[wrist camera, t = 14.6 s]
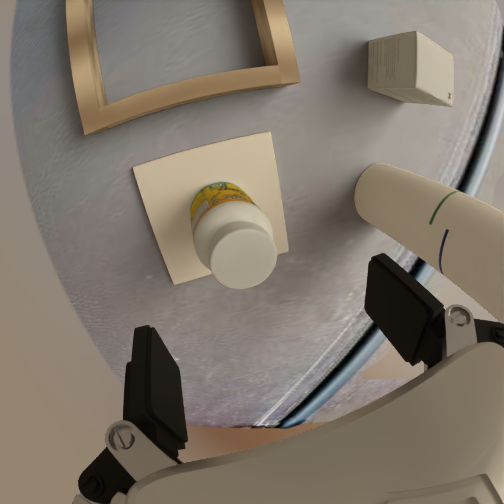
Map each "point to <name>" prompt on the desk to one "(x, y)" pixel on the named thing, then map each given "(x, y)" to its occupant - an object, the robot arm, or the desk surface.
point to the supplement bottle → (232, 235)
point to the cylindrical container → (439, 229)
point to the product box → (411, 69)
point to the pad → (197, 176)
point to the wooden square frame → (106, 116)
